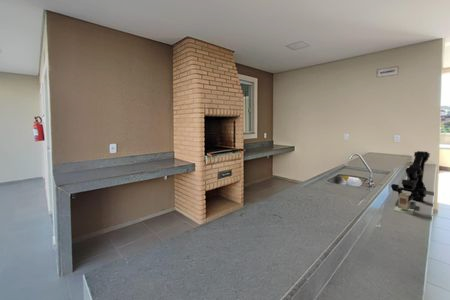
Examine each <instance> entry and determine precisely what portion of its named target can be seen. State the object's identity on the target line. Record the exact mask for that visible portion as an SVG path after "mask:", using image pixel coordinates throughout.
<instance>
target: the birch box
mask: <svg viewBox="0 0 450 300" xmlns="http://www.w3.org/2000/svg"><path fill="white" fill-rule="evenodd" d="M410 195H411V193H405V192H402V193H400V194H399V195H398V199H399V203H398V208H401V209H405V210H408V209H410V201H411V200H410V201H408V199H409V197H410Z"/></svg>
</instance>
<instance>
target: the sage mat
mask: <svg viewBox="0 0 450 300" xmlns="http://www.w3.org/2000/svg"><path fill="white" fill-rule="evenodd" d="M393 211H395V212H399V213H403V214H410V215H413V214H414V211H415V210H414V209H408V210H405V209H401V208H398V206H395V207H394V209H393Z"/></svg>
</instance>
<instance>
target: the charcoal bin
mask: <svg viewBox="0 0 450 300" xmlns="http://www.w3.org/2000/svg"><path fill="white" fill-rule="evenodd" d="M398 203H399V198H397V199H396V201H395V205H394V206H395V207H396V206H398ZM416 206H417V201H413V200H410V209H414V211H415V209H416Z"/></svg>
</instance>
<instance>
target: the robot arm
mask: <svg viewBox="0 0 450 300" xmlns="http://www.w3.org/2000/svg"><path fill="white" fill-rule="evenodd" d="M413 154H414V155H413V156H414V160H413V162H412V164H411V165H409V166H410V167H409V168H407V167H406V169H405V174H406V175H407V177H408V178H407V180H406V179H403V178H402V180H401V185H402V186H400V184H395V183H392V184H391V185H390V188H391V190H392V191H393V192H396V193H398V194H397V195H398V196H399V194H400V193H403V191H404V192H409V193H410V194H411V195H410V197H409V199H408V201H413V202H419V203H420V202H421V203H425V202H426V201H425V200H424V198H426V196H427V187H426V185H425V183H424V182H423V180H424V173H425V164H426V163H427V162H428V161H429V158H430V155H431V154H430V153H429V152H428V151H421V150H420V151H419V150H417V151H414V153H413Z"/></svg>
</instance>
